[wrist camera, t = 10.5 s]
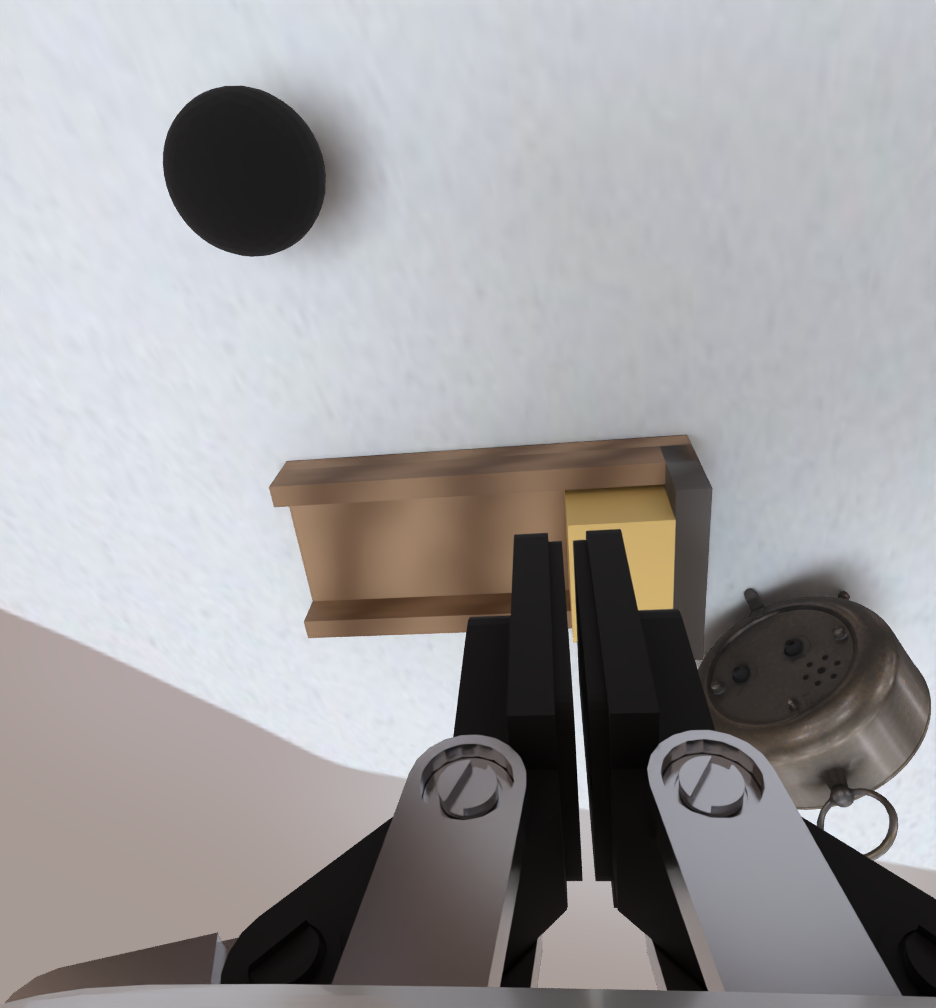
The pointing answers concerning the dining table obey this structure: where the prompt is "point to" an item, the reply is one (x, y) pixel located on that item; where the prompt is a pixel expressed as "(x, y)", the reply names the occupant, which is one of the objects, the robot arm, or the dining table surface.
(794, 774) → the alarm clock
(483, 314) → the dining table surface
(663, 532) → the block
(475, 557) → the wooden tray
